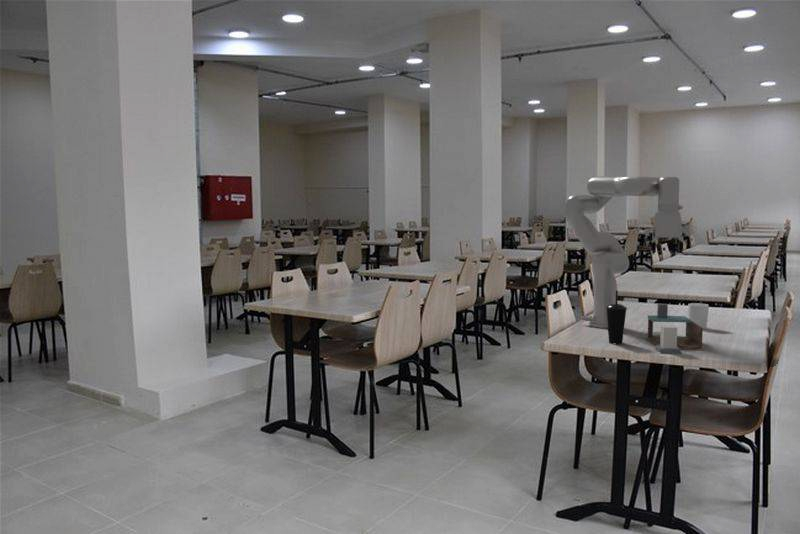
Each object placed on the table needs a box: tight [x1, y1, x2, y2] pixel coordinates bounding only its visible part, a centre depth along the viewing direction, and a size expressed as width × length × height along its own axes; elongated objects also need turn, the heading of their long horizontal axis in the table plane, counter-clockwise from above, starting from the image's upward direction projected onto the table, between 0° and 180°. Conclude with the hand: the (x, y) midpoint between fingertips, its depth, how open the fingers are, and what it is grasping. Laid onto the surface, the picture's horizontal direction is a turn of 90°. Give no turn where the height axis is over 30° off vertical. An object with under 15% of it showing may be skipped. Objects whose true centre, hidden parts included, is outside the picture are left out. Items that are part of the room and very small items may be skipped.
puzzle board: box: [647, 318, 704, 351], centre depth 248 cm, size 15×18×8 cm
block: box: [659, 324, 678, 349], centre depth 236 cm, size 4×4×8 cm
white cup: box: [687, 302, 710, 330], centre depth 279 cm, size 8×8×10 cm
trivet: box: [655, 345, 682, 354], centre depth 236 cm, size 7×6×2 cm
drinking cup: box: [606, 289, 628, 345], centre depth 251 cm, size 8×8×20 cm
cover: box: [647, 303, 691, 323], centre depth 253 cm, size 14×8×6 cm, turn 81°
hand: (666, 252), depth 260 cm, fingers open, 9 cm apart
